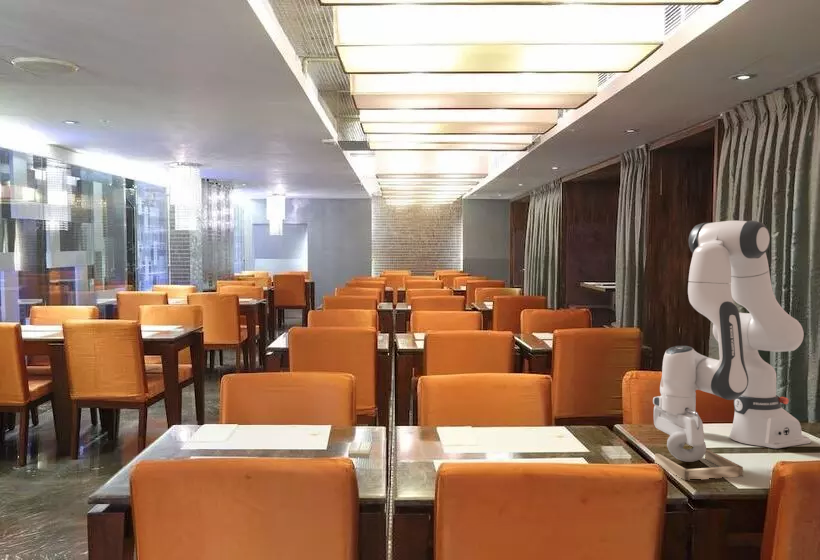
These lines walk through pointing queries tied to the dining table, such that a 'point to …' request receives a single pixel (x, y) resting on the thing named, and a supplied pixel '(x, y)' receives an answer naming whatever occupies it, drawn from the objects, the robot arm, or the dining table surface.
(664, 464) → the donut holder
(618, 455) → the dining table surface
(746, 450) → the dining table surface
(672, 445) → the donut
